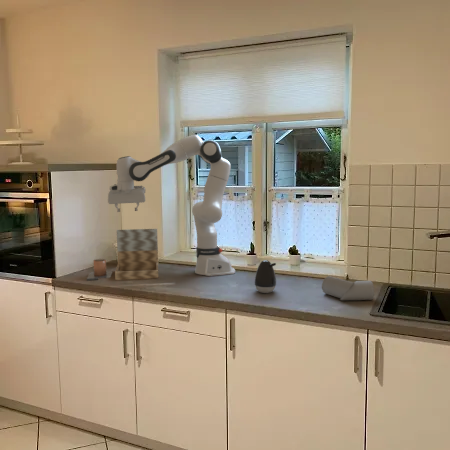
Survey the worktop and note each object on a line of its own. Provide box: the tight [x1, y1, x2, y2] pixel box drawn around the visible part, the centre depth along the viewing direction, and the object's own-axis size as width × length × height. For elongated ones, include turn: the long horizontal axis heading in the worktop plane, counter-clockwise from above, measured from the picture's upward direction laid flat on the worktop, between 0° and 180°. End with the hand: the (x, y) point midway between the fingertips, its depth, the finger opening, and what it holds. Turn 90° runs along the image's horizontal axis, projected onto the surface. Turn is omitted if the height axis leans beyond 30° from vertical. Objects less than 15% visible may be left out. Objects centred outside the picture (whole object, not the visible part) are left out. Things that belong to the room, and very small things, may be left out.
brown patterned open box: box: [114, 228, 159, 281], centre depth 253 cm, size 22×20×24 cm
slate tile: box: [86, 270, 113, 281], centre depth 254 cm, size 12×14×1 cm
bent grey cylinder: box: [321, 275, 375, 302], centre depth 213 cm, size 18×11×20 cm
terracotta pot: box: [93, 258, 107, 276], centre depth 253 cm, size 6×6×8 cm
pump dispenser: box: [254, 259, 277, 294], centre depth 222 cm, size 10×10×15 cm
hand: (127, 211), depth 261 cm, fingers open, 8 cm apart
